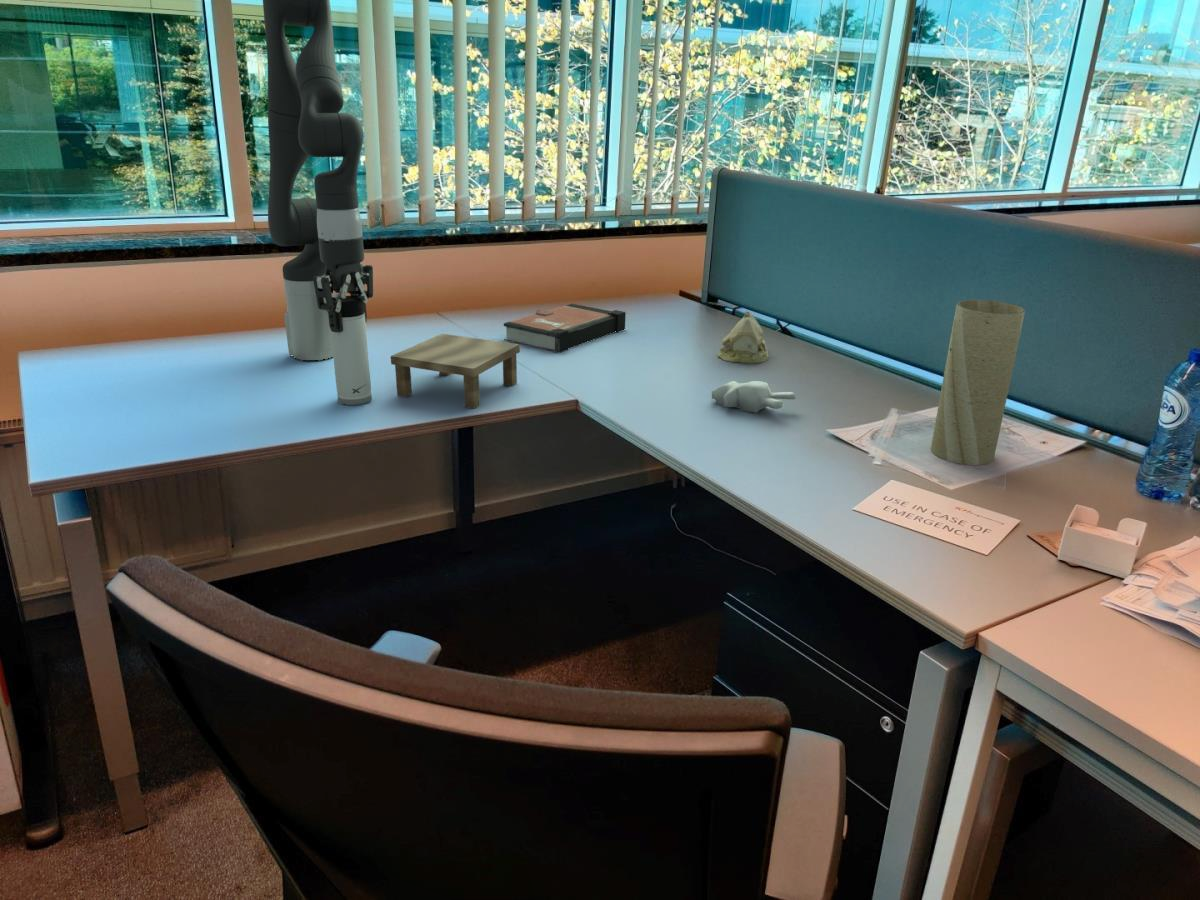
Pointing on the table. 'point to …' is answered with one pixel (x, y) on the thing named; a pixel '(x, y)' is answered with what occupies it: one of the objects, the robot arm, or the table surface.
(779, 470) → the table surface
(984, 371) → the tube
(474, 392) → the footstool
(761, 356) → the ceramic model
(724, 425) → the table surface
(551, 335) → the book
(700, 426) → the table surface
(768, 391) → the bunny figurine
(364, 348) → the travel mug
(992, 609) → the table surface
